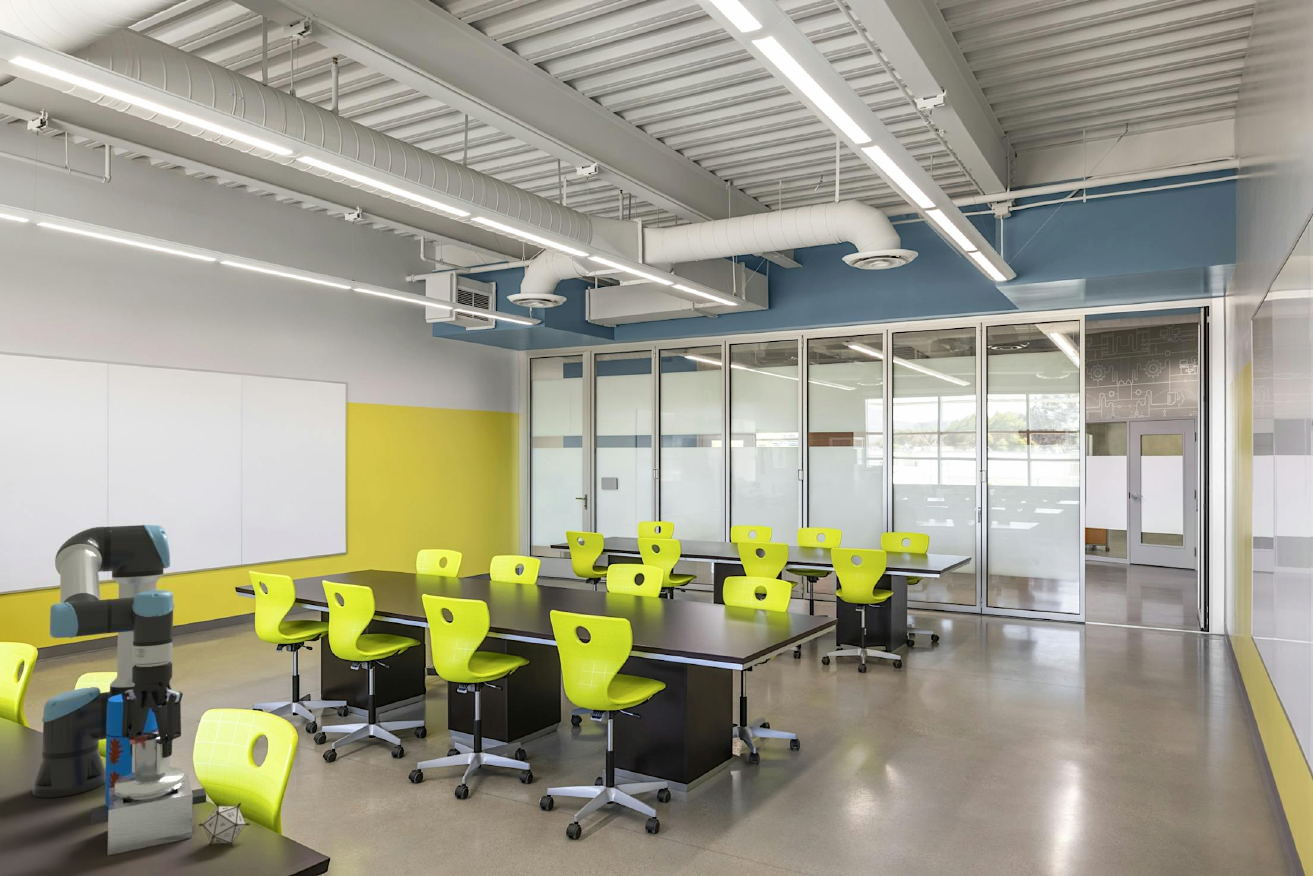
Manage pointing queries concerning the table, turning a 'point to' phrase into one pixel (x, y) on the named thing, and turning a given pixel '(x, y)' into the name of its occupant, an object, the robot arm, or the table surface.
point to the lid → (148, 773)
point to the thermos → (119, 743)
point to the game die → (224, 824)
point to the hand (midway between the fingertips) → (150, 771)
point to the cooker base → (148, 818)
